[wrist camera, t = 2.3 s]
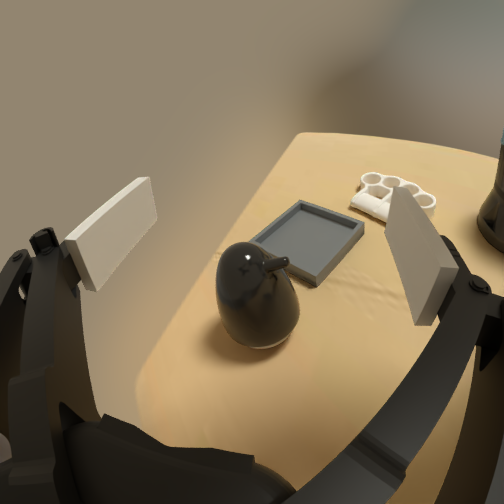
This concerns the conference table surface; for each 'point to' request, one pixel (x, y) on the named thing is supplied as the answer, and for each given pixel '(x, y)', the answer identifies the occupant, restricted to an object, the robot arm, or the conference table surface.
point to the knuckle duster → (387, 195)
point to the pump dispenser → (255, 296)
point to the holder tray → (310, 240)
